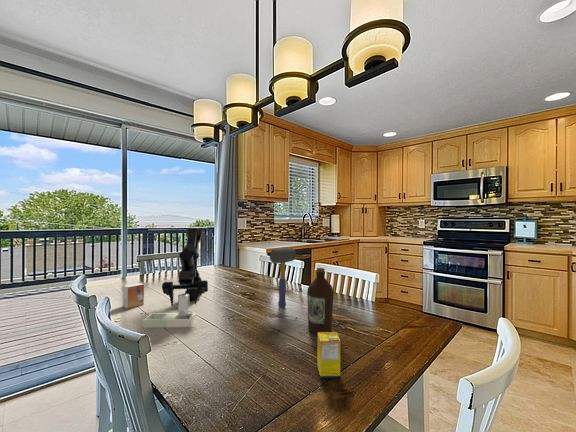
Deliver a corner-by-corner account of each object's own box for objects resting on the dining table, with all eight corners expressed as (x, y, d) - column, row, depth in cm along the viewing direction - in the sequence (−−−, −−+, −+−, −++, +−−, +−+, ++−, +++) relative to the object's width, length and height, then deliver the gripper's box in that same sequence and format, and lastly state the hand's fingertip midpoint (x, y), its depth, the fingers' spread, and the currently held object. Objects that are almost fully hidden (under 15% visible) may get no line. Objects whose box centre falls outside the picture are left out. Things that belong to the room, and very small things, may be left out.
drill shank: (186, 320, 119) (186, 292, 119) (190, 323, 116) (191, 295, 116) (176, 323, 116) (176, 294, 116) (180, 326, 113) (180, 297, 113)
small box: (127, 309, 132) (127, 287, 132) (122, 306, 135) (122, 285, 135) (144, 304, 138) (144, 284, 138) (139, 302, 141) (139, 282, 141)
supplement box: (336, 367, 84) (336, 331, 84) (340, 378, 78) (341, 340, 78) (316, 367, 84) (317, 331, 84) (319, 379, 78) (320, 340, 78)
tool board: (142, 327, 111) (142, 320, 111) (151, 319, 119) (151, 312, 119) (190, 327, 112) (190, 319, 112) (196, 319, 120) (196, 312, 120)
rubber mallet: (277, 312, 130) (277, 249, 130) (267, 308, 135) (268, 247, 135) (296, 307, 138) (297, 247, 138) (286, 303, 144) (287, 246, 143)
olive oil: (313, 322, 118) (314, 265, 118) (336, 328, 113) (337, 267, 113) (302, 331, 109) (303, 269, 109) (327, 338, 104) (328, 272, 103)
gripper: (163, 263, 118) (156, 296, 107) (207, 262, 122) (205, 294, 112) (166, 277, 126) (160, 309, 115) (208, 276, 130) (206, 307, 119)
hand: (183, 304), depth 115 cm, fingers open, 9 cm apart
